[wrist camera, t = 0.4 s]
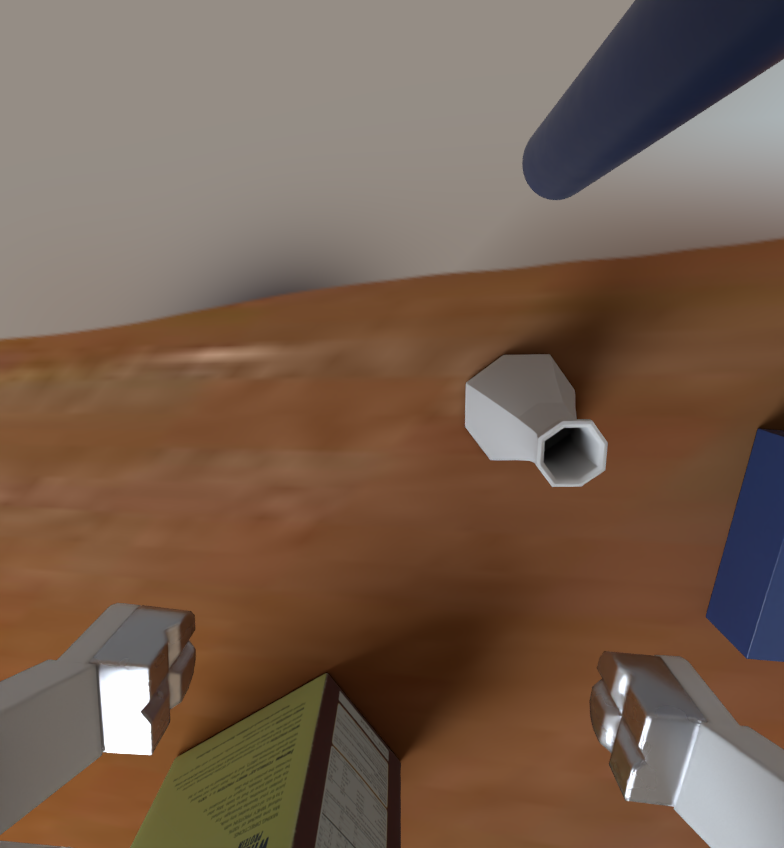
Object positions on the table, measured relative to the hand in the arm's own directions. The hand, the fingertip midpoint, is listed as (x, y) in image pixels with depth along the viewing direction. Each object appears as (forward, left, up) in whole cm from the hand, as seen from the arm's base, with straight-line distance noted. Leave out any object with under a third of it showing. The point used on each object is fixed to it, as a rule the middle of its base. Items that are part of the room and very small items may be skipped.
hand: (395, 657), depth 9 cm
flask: (-1, +8, -22) cm, 24 cm away
